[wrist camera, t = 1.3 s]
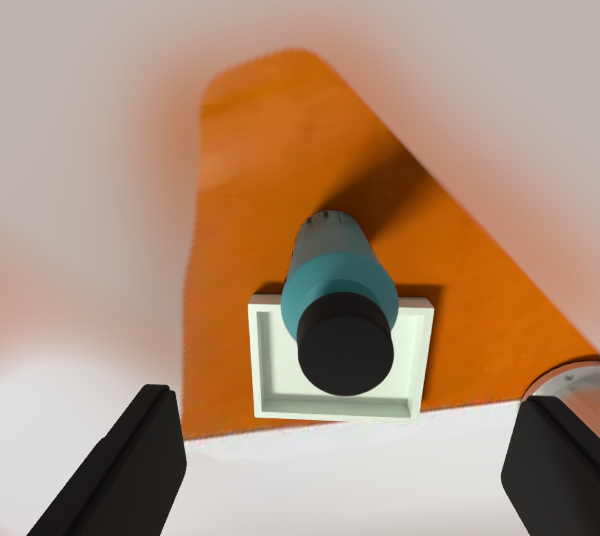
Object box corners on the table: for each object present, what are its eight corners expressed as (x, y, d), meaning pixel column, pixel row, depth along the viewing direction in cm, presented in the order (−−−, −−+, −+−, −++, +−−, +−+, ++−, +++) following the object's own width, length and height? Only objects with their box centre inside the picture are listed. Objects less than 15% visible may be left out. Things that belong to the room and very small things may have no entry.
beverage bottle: (329, 191, 30) (345, 243, 11) (377, 239, 31) (468, 362, 12) (283, 239, 31) (226, 357, 13) (330, 283, 33) (343, 451, 14)
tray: (426, 297, 32) (434, 308, 30) (411, 407, 37) (417, 424, 35) (253, 293, 34) (247, 304, 31) (259, 401, 38) (254, 417, 36)
